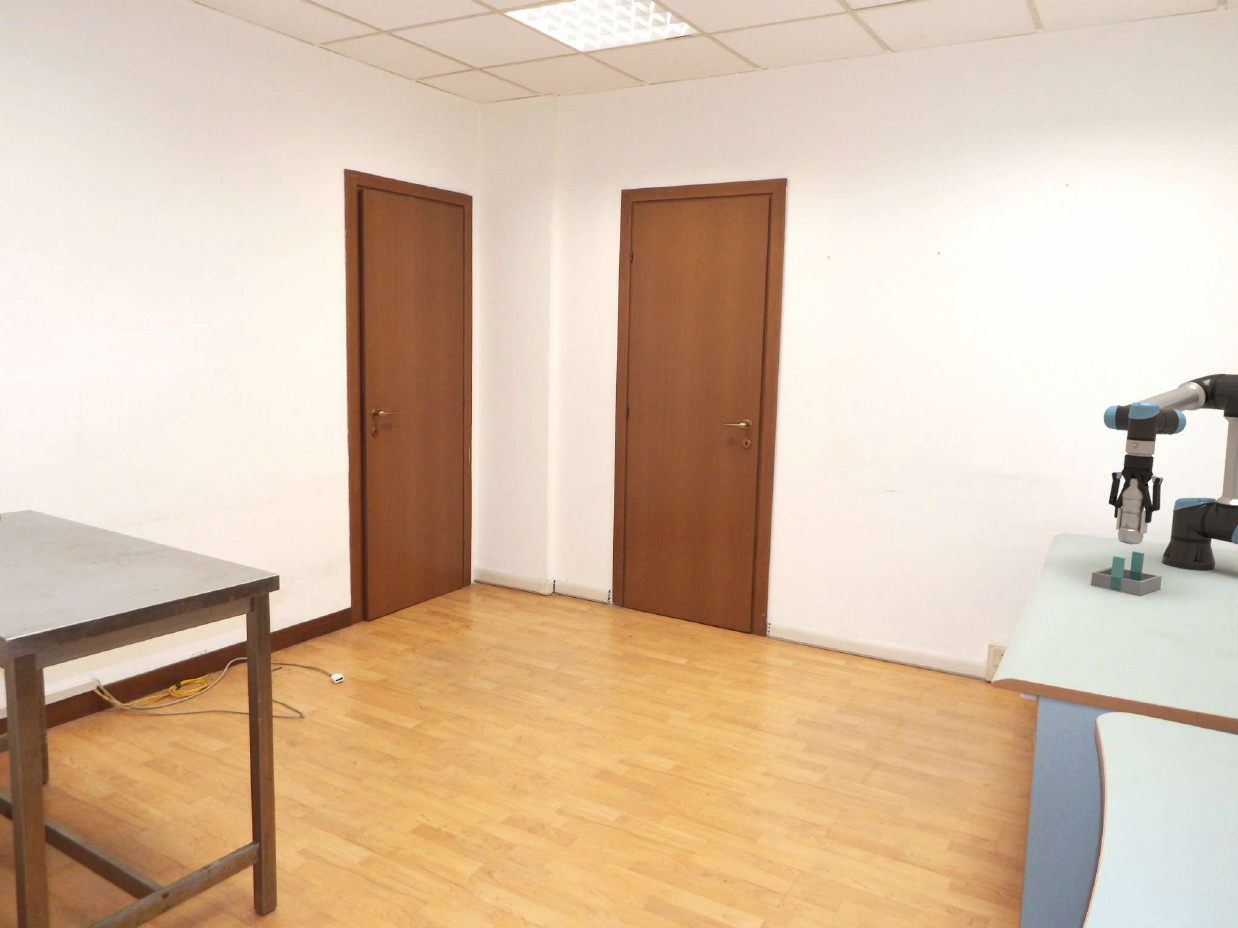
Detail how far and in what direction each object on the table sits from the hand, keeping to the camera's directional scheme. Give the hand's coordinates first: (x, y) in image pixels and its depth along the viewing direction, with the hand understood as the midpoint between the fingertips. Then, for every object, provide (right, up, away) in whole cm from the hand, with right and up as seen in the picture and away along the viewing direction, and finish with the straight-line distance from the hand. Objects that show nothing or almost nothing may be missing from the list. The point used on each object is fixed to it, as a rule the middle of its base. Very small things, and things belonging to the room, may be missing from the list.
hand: (1131, 531), depth 271 cm
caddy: (0, -17, +2) cm, 17 cm away
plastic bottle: (0, -4, +1) cm, 4 cm away
